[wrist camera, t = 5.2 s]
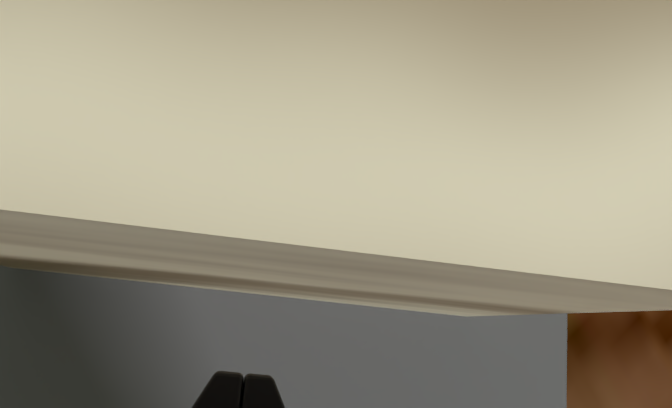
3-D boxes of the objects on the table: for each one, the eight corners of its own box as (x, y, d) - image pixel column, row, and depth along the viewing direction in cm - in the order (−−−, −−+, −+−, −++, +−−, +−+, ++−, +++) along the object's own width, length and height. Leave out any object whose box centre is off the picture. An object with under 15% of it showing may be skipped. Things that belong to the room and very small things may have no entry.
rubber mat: (554, 457, 16) (565, 462, 16) (-144, 405, 14) (-160, 408, 13) (562, -185, 21) (572, -199, 21) (45, -307, 19) (39, -327, 18)
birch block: (465, 316, 16) (804, 305, 6) (10, 267, 14) (-453, 154, 5) (473, 146, 17) (774, -82, 8) (50, 83, 16) (-260, -311, 6)
